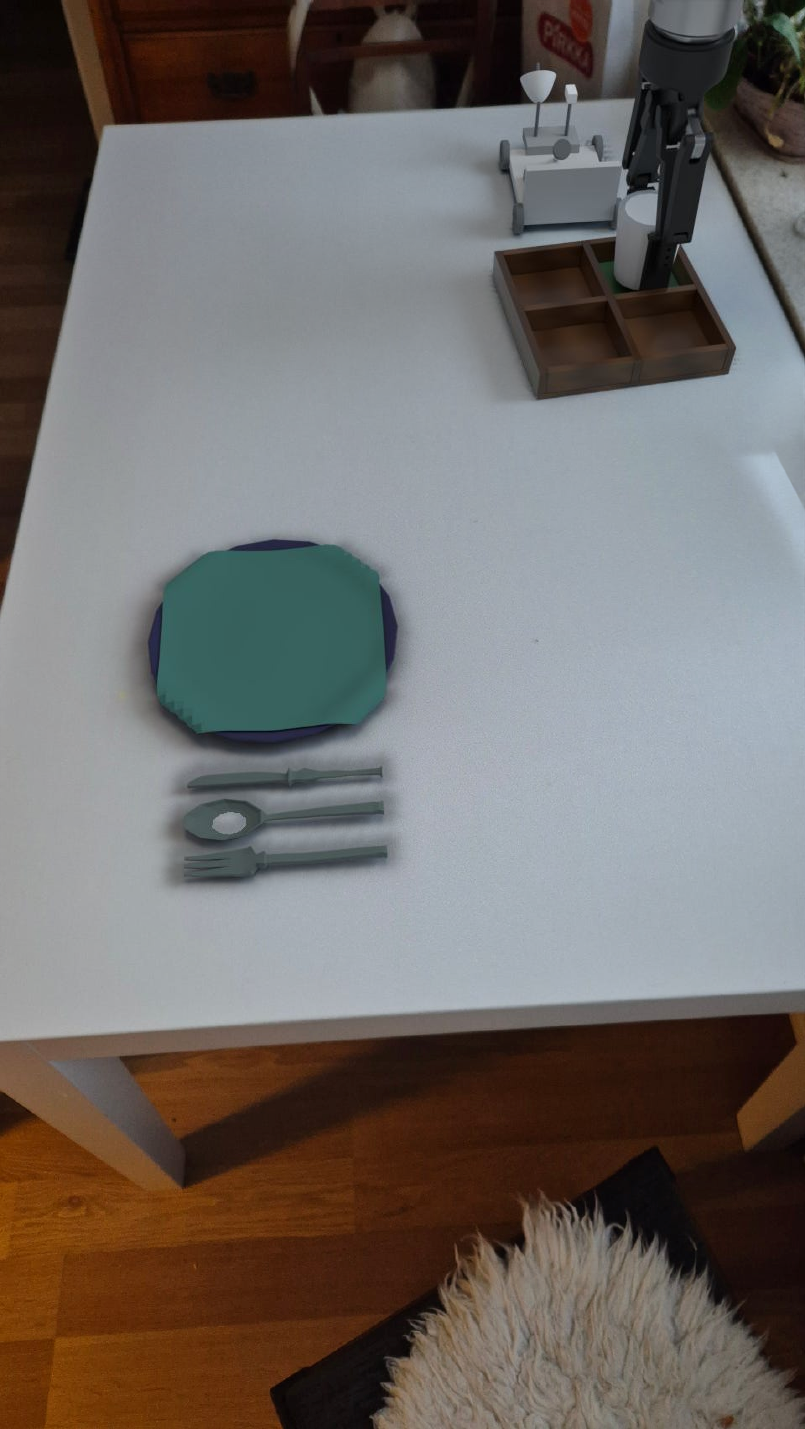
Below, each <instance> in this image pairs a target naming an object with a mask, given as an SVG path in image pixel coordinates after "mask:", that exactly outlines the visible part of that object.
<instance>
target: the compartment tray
mask: <svg viewBox="0 0 805 1429" xmlns="http://www.w3.org/2000/svg"><path fill="white" fill-rule="evenodd" d="M615 246H616V235H615V236H607V237H599V238H591V239H590V238H589V239H584V240H576V241H568V242H559V243H551V244H543V245H535V246H527V247H520V248H518V247H517V248H512V249H503V250H494V251H493V262H492V263H493V265H492V280H493V283H494V286H495V289H496V291H497V294H498V297H499V300H500V303H501V306H502V308H503V311H504V314H505V316H506V319H507V322H508V325H509V328H510V330H511V333H512V336H513V338H514V341H515V344H516V347H517V350H518V353H519V355H520V358H521V360H522V363H523V366H524V369H525V371H526V374H527V377H528V379H529V382H530V386H531V388H532V391H533V394H534V396H535V400H536V401H539V400H546V399H554V398H560V397H567V396H577V395H583V394H590V393H596V392H597V393H598V392H605V391H611V390H612V391H613V390H620V389H627V388H633V387H634V388H635V387H643V386H649V385H657V384H664V383H671V382H680V381H687V380H693V379H694V380H695V379H700V378H708V377H716V376H722V375H723V376H724V375H728V374H729V373H730V370H731V366H732V363H733V360H734V358H735V353H736V350H737V345H736V344H735V341H734V340H733V338H732V337H731V334H730V332H729V331H728V329H727V327H726V325H725V323H724V322H723V320H722V318H721V316H720V314H719V312H718V309H717V308H716V306H715V305H714V303H713V301H712V299H711V297H710V295H709V294H708V292H707V290H706V288H705V286H704V284H703V283H702V281H701V278H700V276H699V275H698V273H697V271H696V269H695V267H694V266H693V264H692V262H691V260H690V258H689V256H688V255H687V253H686V251H685V249H684V247H683V244H680V245H679V248H678V251H677V254H676V257H675V260H674V263H673V267H672V271H671V276H670V280H669V284H668V288H661V289H653V290H645V291H639V290H633V289H630V288H628V287H625V286H623V285H622V284H620V283H619V282H618V281H617V280H616V278H615V276H614V260H615Z"/></svg>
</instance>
